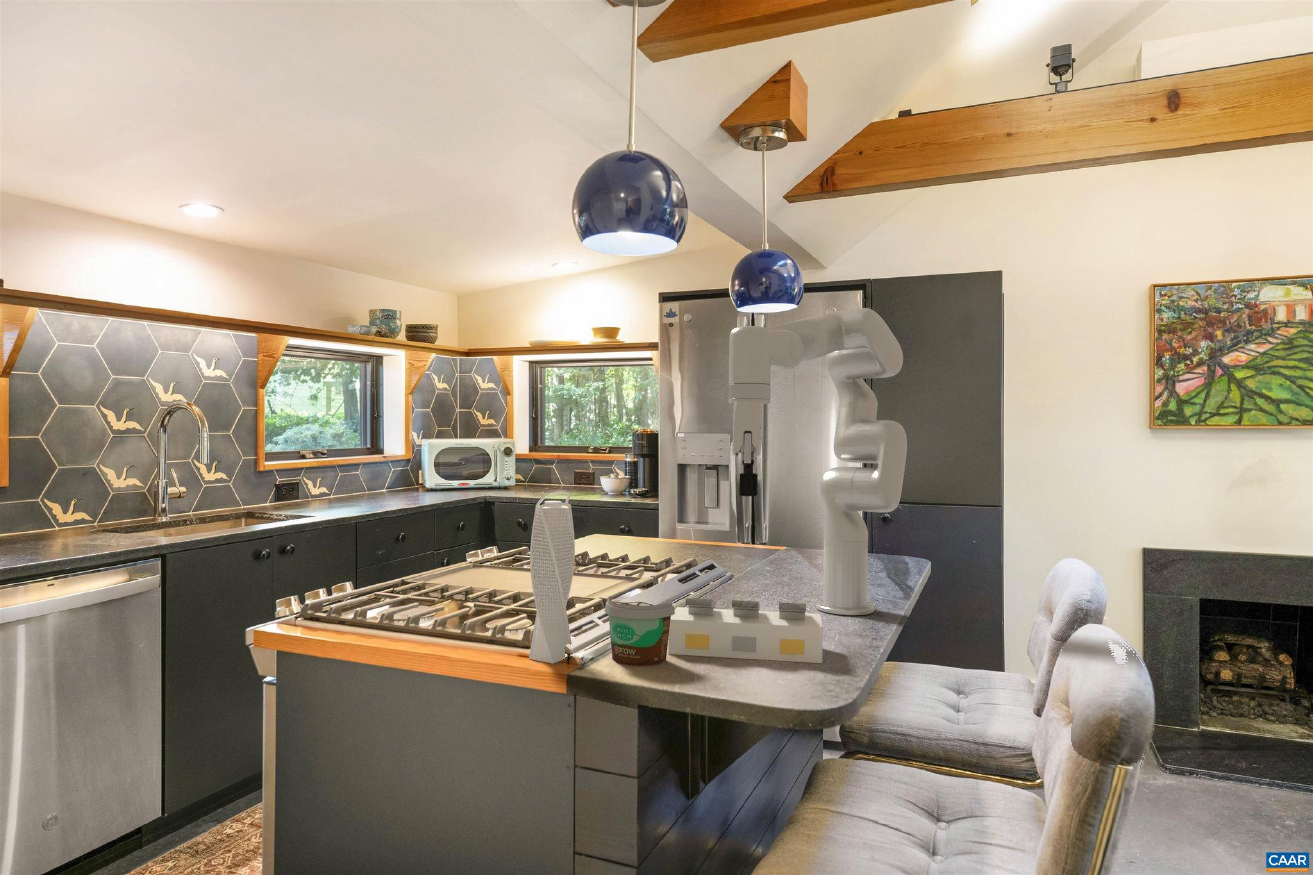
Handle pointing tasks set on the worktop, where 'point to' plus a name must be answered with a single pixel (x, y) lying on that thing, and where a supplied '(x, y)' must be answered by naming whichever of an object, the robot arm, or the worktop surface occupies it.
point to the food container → (639, 632)
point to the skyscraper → (551, 577)
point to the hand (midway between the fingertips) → (748, 495)
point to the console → (746, 634)
